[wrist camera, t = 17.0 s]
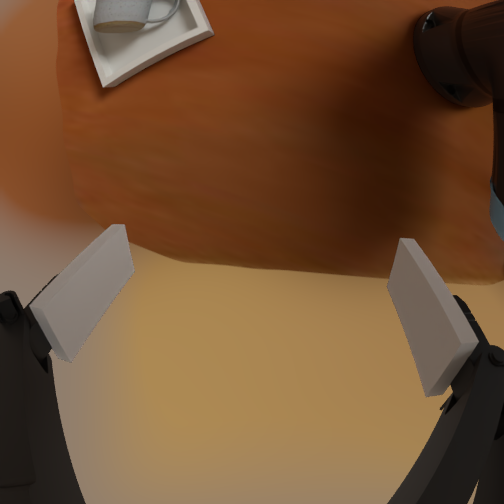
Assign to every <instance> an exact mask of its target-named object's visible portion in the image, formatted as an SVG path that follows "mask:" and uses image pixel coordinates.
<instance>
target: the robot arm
mask: <svg viewBox="0 0 504 504" xmlns="http://www.w3.org/2000/svg"><path fill="white" fill-rule="evenodd" d="M413 43H414V51H415V55H416V58H417V61H418V64H419V66H420V68H421V70H422V72H423V74H424V76H425V77H426V79H427V80H428V82H429V83H430V84H431V86H432V87H433V88H434V89H435V90H436V91H437V92H438V93H439V94H440V95H442V96H443V97H444V98H446V99H447V100H449V101H451V102H453V103H455V104H458V105H461V106H467V107H482V106H486V105H488V104H490V103H492V102H493V124H494V151H493V168H492V176H491V179H490V188H491V199H490V218H491V222H492V224H493V226H494V227H495V230H496V232H497V233H498V235H499V236H500V238H501V239H502V240H503V241H504V0H497V1H494V2H490V3H487V4H484V5H481V6H478V7H475V8H472V9H463V8H456V7H449V6H445V7H438V8H435V9H433V10H431V11H429V12H427V13H425V14H424V15H423V16H422V17H421V18H420V19H419V20H418V22H417V24H416V26H415V30H414V36H413ZM134 272H135V270H134V266H133V261H132V257H131V252H130V248H129V243H128V238H127V234H126V229H125V224H112V225H111V226H110V227H109V228H107V229H106V230H105V231H104V232H103V233H102V234H101V235H100V236H99V237H97V238H96V239H95V240H94V241H93V242H92V243H91V244H90V245H89V246H88V247H86V248H85V249H84V250H83V251H82V252H81V253H80V254H79V255H78V256H77V257H76V258H75V259H74V260H73V261H72V262H71V263H70V264H69V265H68V266H67V267H66V268H65V269H64V270H63V271H62V272H61V273H59V274H58V275H56V276H55V277H53V279H51V281H50V282H49V283H48V284H47V285H46V286H45V287H44V288H43V289H42V291H40V292H39V293H38V294H37V295H36V296H35V297H34V299H32V301H31V302H30V303H29V304H28V305H27V306H26V307H25V308H24V309H23V307H22V305H21V303H20V301H19V299H18V297H17V294H16V293H15V292H14V291H6V292H3V293H2V294H0V504H86V503H85V501H84V498H83V496H82V493H81V490H80V487H79V484H78V482H77V479H76V476H75V473H74V469H73V467H72V463H71V459H70V456H69V452H68V449H67V445H66V441H65V437H64V433H63V428H62V424H61V419H60V414H59V409H58V403H57V397H56V391H55V385H54V377H53V369H52V360H51V357H50V356H49V354H48V353H49V352H50V350H51V349H53V351H54V352H55V354H56V356H57V357H58V358H59V359H61V360H64V361H67V362H70V363H71V362H72V361H73V359H74V358H75V356H76V355H77V353H78V352H79V350H80V348H81V347H82V345H83V344H84V342H85V341H86V339H87V338H88V336H89V335H90V333H91V332H92V330H93V329H94V327H95V326H96V324H97V323H98V322H99V320H100V319H101V317H102V316H103V314H104V313H105V311H106V310H107V309H108V307H109V306H110V304H111V303H112V301H113V300H114V299H115V298H116V296H117V295H118V293H119V292H120V291H121V289H122V288H123V286H124V285H125V284H126V283H127V281H128V280H129V279H130V277H131V276H132V275H133V273H134ZM387 288H388V291H389V293H390V296H391V298H392V301H393V303H394V305H395V308H396V311H397V313H398V316H399V318H400V321H401V324H402V326H403V329H404V332H405V334H406V337H407V339H408V342H409V345H410V348H411V351H412V354H413V357H414V360H415V363H416V366H417V370H418V373H419V376H420V379H421V383H422V386H423V389H424V392H425V396H426V397H429V396H436V395H442V394H443V393H444V392H445V391H446V389H447V388H448V387H449V385H451V387H452V390H453V393H452V394H451V396H450V397H449V398H448V399H447V400H446V402H445V403H444V404H443V405H442V407H441V408H440V410H442V409H443V408H444V410H443V412H442V414H441V416H440V418H439V420H438V422H437V424H436V426H435V428H434V430H433V432H432V434H431V436H430V438H429V440H428V442H427V443H426V445H425V447H424V449H423V450H422V452H421V454H420V456H419V457H418V459H417V461H416V462H415V464H414V465H413V467H412V469H411V470H410V472H409V473H408V475H407V476H406V478H405V479H404V481H403V482H402V484H401V485H400V487H399V488H398V490H397V491H396V492H395V494H394V495H393V497H392V498H391V499H390V501H389V502H388V503H387V504H467V503H468V501H469V499H470V497H471V495H472V493H473V491H474V488H475V486H476V484H477V482H478V480H479V482H478V486H477V490H476V494H475V498H474V502H473V504H504V350H503V349H501V348H499V347H498V346H495V345H490V344H489V343H488V341H487V339H486V337H485V335H484V333H483V332H482V330H481V328H480V326H479V325H478V323H477V321H475V318H474V316H473V315H472V314H471V311H470V309H469V308H468V306H467V305H466V303H465V302H464V301H463V300H462V299H460V298H459V297H458V296H457V295H452V294H451V292H450V291H449V289H448V287H447V286H446V284H445V283H444V281H443V280H442V278H441V277H440V275H439V274H438V272H437V271H436V269H435V268H434V266H433V265H432V263H431V262H430V261H429V259H428V258H427V256H426V255H425V253H424V252H423V251H422V249H421V248H420V246H419V245H418V244H417V242H416V241H415V240H414V239H408V238H400V240H399V244H398V248H397V252H396V256H395V260H394V263H393V267H392V271H391V274H390V278H389V281H388V285H387Z"/></svg>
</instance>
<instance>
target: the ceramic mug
mask: <svg viewBox="0 0 504 504" xmlns="http://www.w3.org/2000/svg"><path fill="white" fill-rule="evenodd" d="M152 1H153V0H96V6H95V11H94V17H93V26H94V30H95V31H97V32H100V33H127V32H135V31H139V30H141V29H142V28H143V27H144V26H145V24H147V23H151V24H153V23H159V22H163V21H166V20H168V19H169V18H171V17H172V16H173V15H174V14H175V13H176V11H177V9H178V7H179V3H180V0H175V2H174V5H173V7H172V9H171V10H169V13H168V14H167V16H165V17H162V18H160V19H150V20H149V19H148V16H149V12H150V8H151V4H152Z"/></svg>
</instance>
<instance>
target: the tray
mask: <svg viewBox="0 0 504 504" xmlns="http://www.w3.org/2000/svg"><path fill="white" fill-rule="evenodd" d="M74 1H75V5H76V8H77V12H78V15H79V18H80V22H81V25H82V28H83V31H84V34H85V38H86V41H87V44H88V47H89V50H90V52H91V55H92V58H93V61H94V64H95V67H96V70H97V72H98V75H99V78H100V80H101V83H102V86H103V87H115V86H117V85H118V84H120V83H121V82H123V81H125V80H126V79H128V78H129V77H131V76H133V75H134V74H136V73H138V72H140V71H141V70H143V69H145V68H147V67H148V66H150V65H152V64H154V63H156V62H158V61H159V60H161V59H163V58H165V57H167V56H169V55H171V54H173V53H175V52H177V51H179V50H181V49H183V48H185V47H188V46H190V45H192V44H194V43H196V42H199V41H201V40H203V39H206V38H208V37H210V36H213V35H214V33H213V30H212V28H211V26H210V23H209V21H208V19H207V17H206V14H205V12H204V10H203V8H202V6H201V3H200V1H199V0H180V3H179V7H178V9H177V11H176V13H175V14H174V15H173V16H172V17H171V18H169V19H168V20H166V21H163V22H159V23H153V24H151V23H147V24H145V26H144V27H143V28H142V29H141V30H139V31H135V32H127V33H100V32H97V31H95V30H94V26H93V17H94V11H95V6H96V0H74ZM174 2H175V0H153V1H152V4H151V8H150V12H149V16H148V19H149V20H150V19H160V18H162V17H165V16H167V14H168V13H169V10H171V9H172V7H173V5H174Z"/></svg>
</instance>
